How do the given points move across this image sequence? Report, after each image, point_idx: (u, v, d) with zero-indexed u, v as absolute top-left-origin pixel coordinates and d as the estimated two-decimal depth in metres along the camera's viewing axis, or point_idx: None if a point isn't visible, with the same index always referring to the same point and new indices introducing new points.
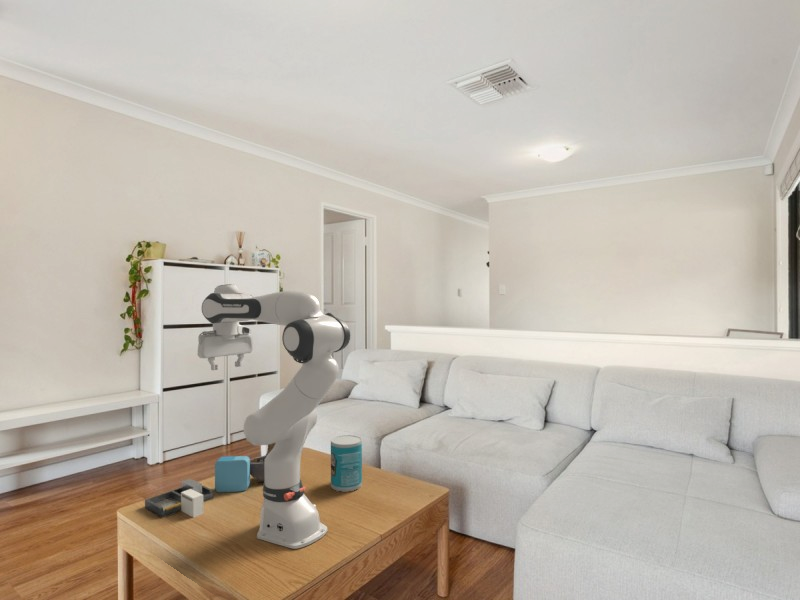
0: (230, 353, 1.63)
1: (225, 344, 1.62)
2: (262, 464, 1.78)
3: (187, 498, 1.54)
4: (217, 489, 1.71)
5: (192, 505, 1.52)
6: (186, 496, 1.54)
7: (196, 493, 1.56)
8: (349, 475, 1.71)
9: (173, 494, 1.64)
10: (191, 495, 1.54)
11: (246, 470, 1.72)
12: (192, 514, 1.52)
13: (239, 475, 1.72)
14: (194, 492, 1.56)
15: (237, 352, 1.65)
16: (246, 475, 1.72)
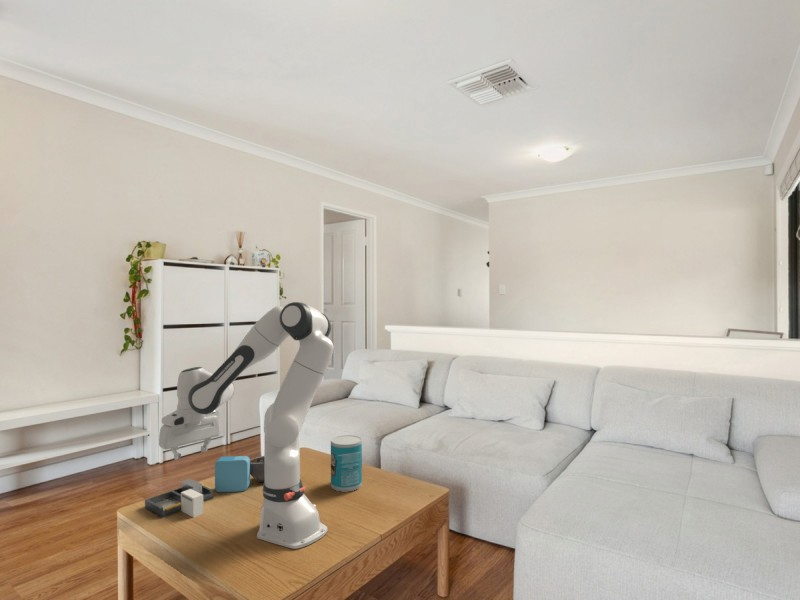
0: None
1: None
2: (262, 464, 1.78)
3: (187, 498, 1.54)
4: (217, 489, 1.71)
5: (192, 505, 1.52)
6: (186, 496, 1.54)
7: (196, 493, 1.56)
8: (349, 475, 1.71)
9: (173, 494, 1.64)
10: (191, 495, 1.54)
11: (246, 470, 1.72)
12: (192, 514, 1.52)
13: (239, 475, 1.72)
14: (194, 492, 1.56)
15: None
16: (246, 475, 1.72)
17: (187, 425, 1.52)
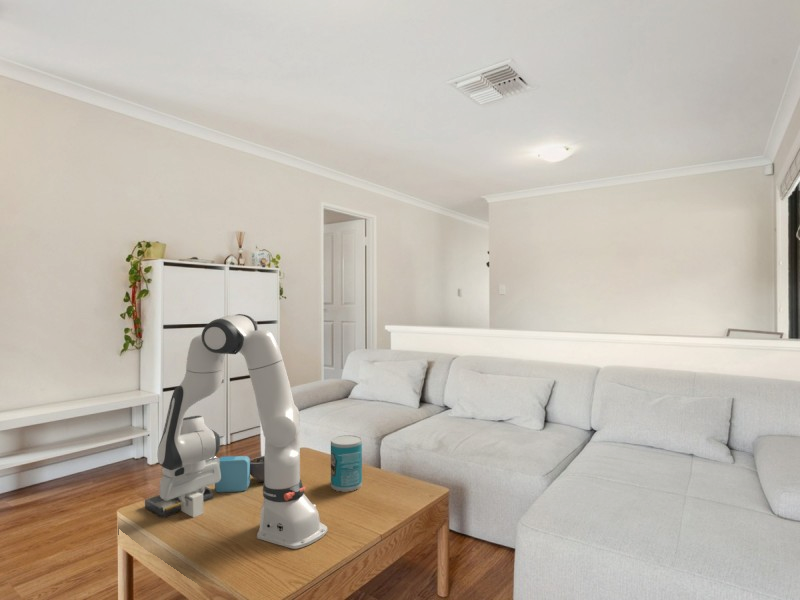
0: None
1: None
2: (262, 464, 1.78)
3: (187, 498, 1.54)
4: (217, 489, 1.71)
5: (192, 505, 1.52)
6: (186, 496, 1.54)
7: (196, 493, 1.56)
8: (349, 475, 1.71)
9: None
10: (191, 495, 1.54)
11: (246, 470, 1.72)
12: (192, 514, 1.52)
13: (239, 475, 1.72)
14: (194, 492, 1.56)
15: None
16: (246, 475, 1.72)
17: (187, 474, 1.53)
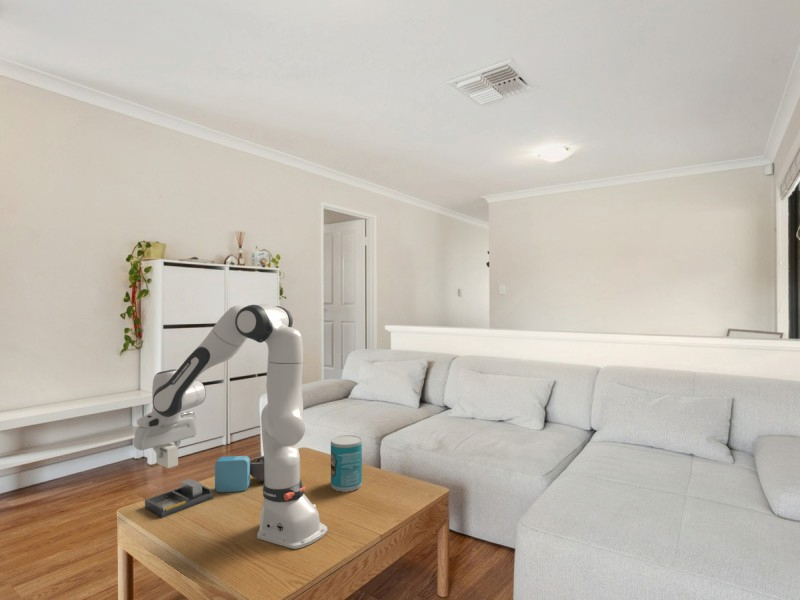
0: None
1: None
2: (262, 464, 1.78)
3: (162, 450, 1.57)
4: (217, 489, 1.71)
5: (166, 456, 1.55)
6: (161, 448, 1.58)
7: (171, 445, 1.59)
8: (349, 475, 1.71)
9: (173, 494, 1.64)
10: (166, 447, 1.57)
11: (246, 470, 1.72)
12: (167, 465, 1.55)
13: (239, 475, 1.72)
14: (169, 444, 1.60)
15: None
16: (246, 475, 1.72)
17: (162, 426, 1.56)
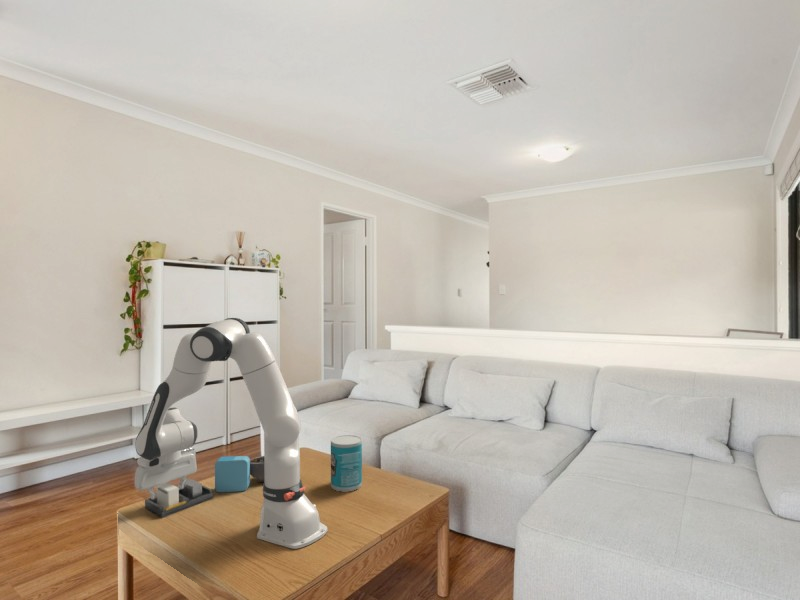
0: None
1: None
2: (262, 464, 1.78)
3: (163, 491, 1.57)
4: (217, 489, 1.71)
5: (167, 498, 1.56)
6: (162, 489, 1.58)
7: (172, 486, 1.59)
8: (349, 475, 1.71)
9: None
10: (166, 488, 1.57)
11: (246, 470, 1.72)
12: None
13: (239, 475, 1.72)
14: (170, 485, 1.60)
15: None
16: (246, 475, 1.72)
17: (162, 465, 1.56)
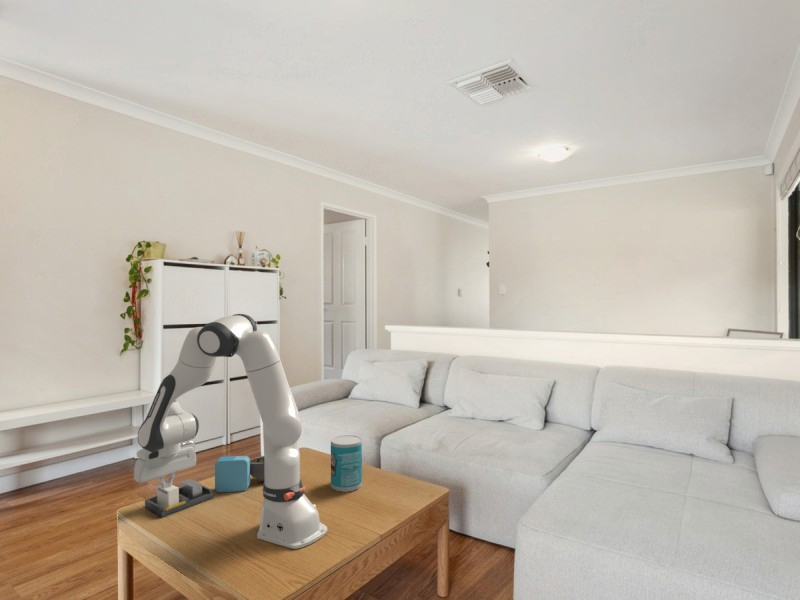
0: None
1: None
2: (262, 464, 1.78)
3: (163, 491, 1.57)
4: (217, 489, 1.71)
5: (167, 498, 1.56)
6: (162, 489, 1.58)
7: (172, 486, 1.59)
8: (349, 475, 1.71)
9: None
10: (166, 488, 1.57)
11: (246, 470, 1.72)
12: None
13: (239, 475, 1.72)
14: None
15: None
16: (246, 475, 1.72)
17: (162, 458, 1.56)
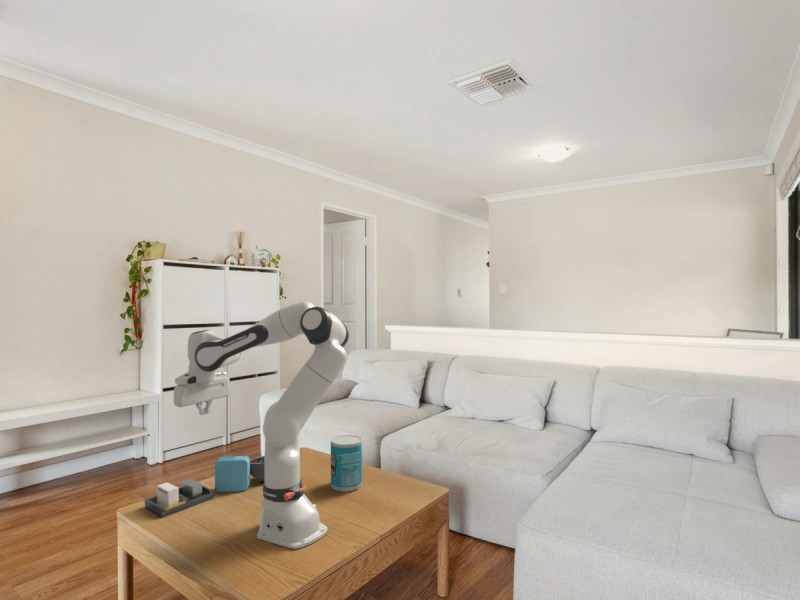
0: None
1: None
2: (262, 464, 1.78)
3: (163, 491, 1.57)
4: (217, 489, 1.71)
5: (167, 498, 1.56)
6: (162, 489, 1.58)
7: (172, 486, 1.59)
8: (349, 475, 1.71)
9: None
10: (166, 488, 1.57)
11: (246, 470, 1.72)
12: None
13: (239, 475, 1.72)
14: (170, 485, 1.60)
15: None
16: (246, 475, 1.72)
17: (199, 384, 1.60)
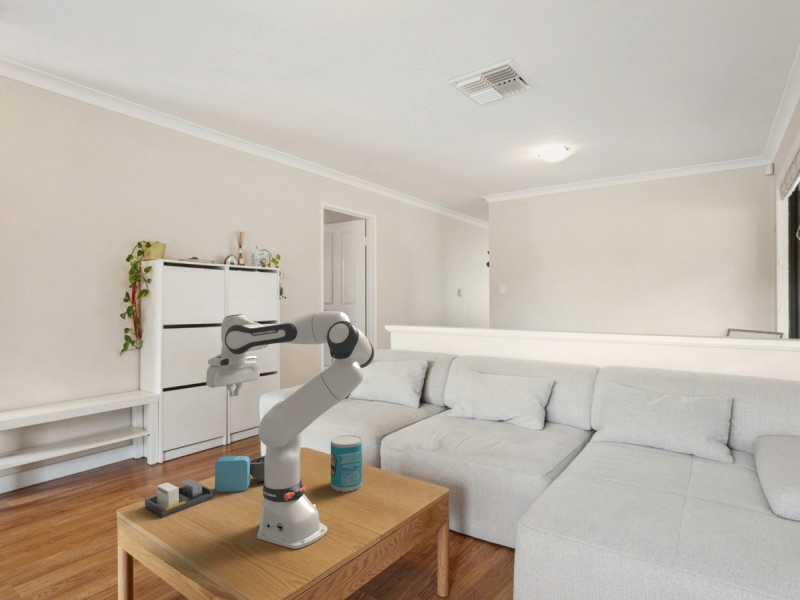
0: None
1: None
2: (262, 464, 1.78)
3: (163, 491, 1.57)
4: (217, 489, 1.71)
5: (167, 498, 1.56)
6: (162, 489, 1.58)
7: (172, 486, 1.59)
8: (349, 475, 1.71)
9: None
10: (166, 488, 1.57)
11: (246, 470, 1.72)
12: None
13: (239, 475, 1.72)
14: (170, 485, 1.60)
15: None
16: (246, 475, 1.72)
17: (231, 367, 1.65)
